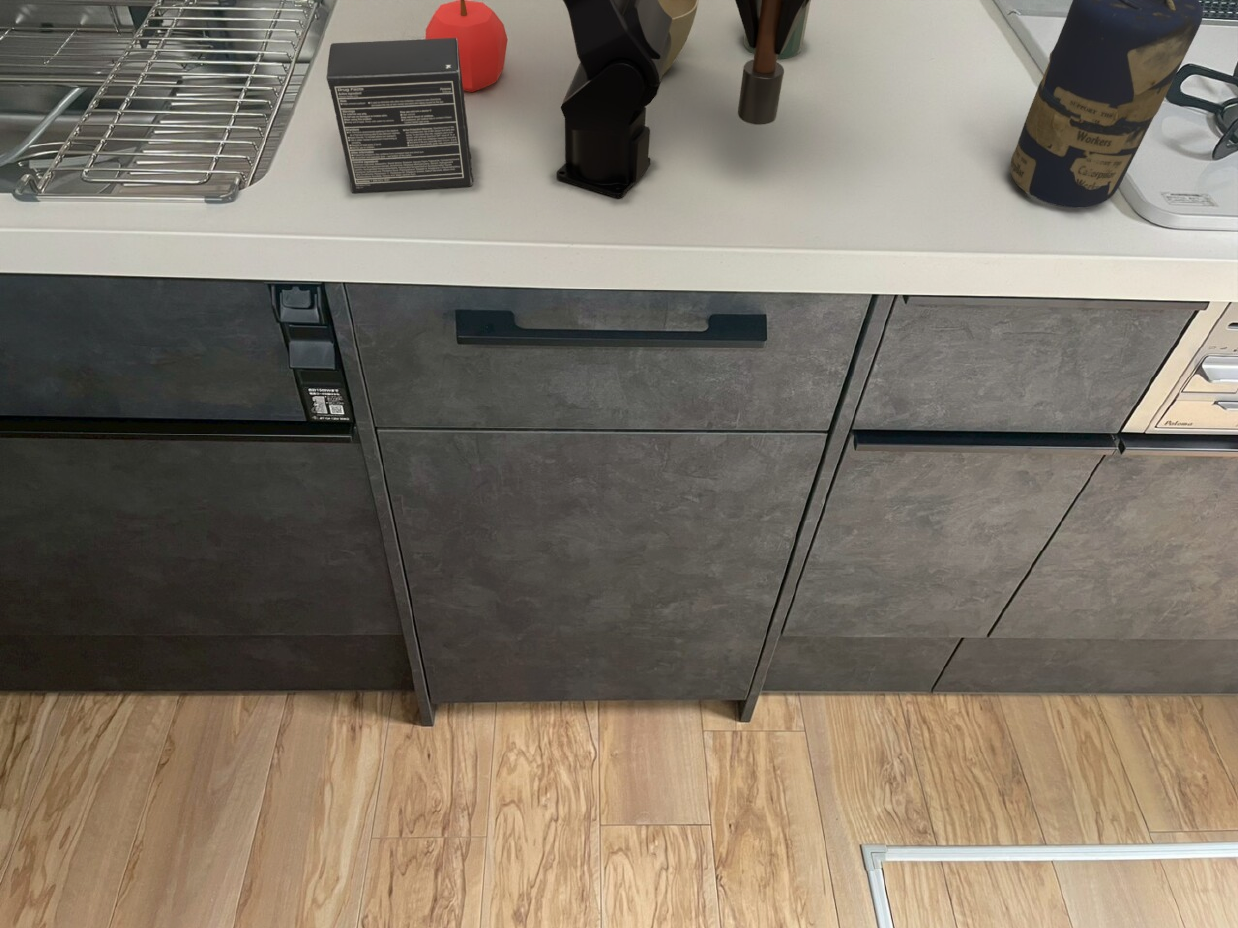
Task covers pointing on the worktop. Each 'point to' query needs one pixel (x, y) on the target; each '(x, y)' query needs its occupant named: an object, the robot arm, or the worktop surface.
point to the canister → (1100, 96)
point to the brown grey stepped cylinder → (762, 71)
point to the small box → (401, 114)
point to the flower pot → (679, 24)
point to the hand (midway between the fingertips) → (766, 49)
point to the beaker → (795, 40)
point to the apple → (472, 40)
